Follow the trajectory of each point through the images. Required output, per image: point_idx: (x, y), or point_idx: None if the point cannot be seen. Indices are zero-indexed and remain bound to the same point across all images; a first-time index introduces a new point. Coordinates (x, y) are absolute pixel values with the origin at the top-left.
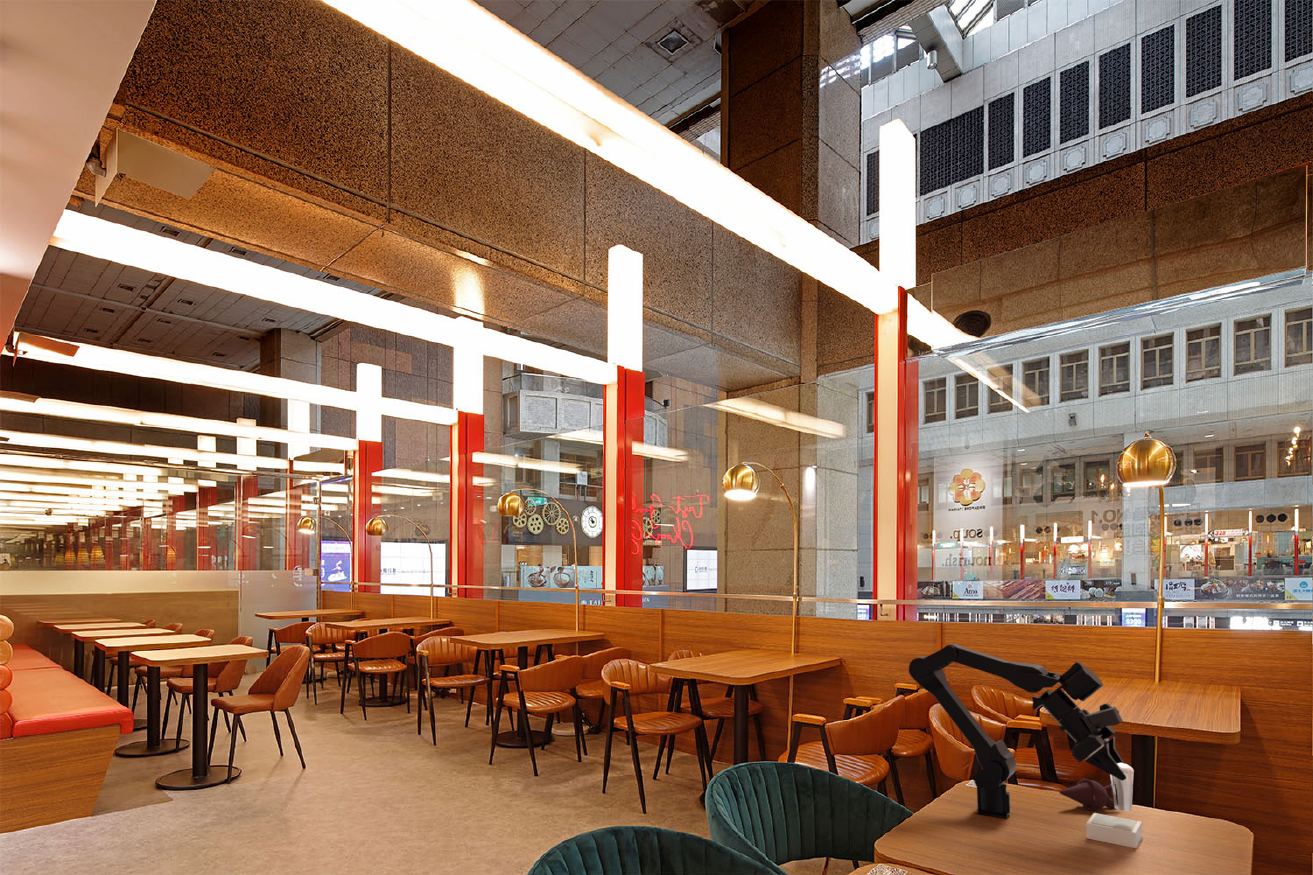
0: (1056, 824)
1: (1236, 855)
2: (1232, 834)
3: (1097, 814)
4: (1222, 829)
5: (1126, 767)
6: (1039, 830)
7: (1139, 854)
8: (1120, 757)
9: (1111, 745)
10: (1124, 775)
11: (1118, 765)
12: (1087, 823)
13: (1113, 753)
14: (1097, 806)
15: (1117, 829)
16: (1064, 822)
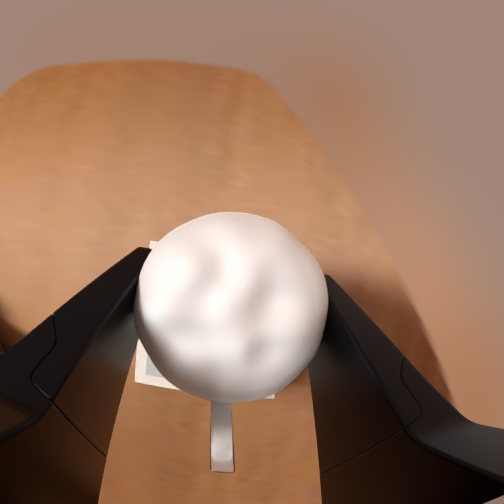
0: (185, 452)
1: (199, 68)
2: (54, 76)
3: (154, 373)
4: (29, 93)
5: (303, 264)
6: (266, 474)
7: (326, 259)
8: (64, 314)
9: (25, 450)
10: (336, 284)
11: (297, 334)
12: (273, 395)
13: (73, 395)
14: (3, 349)
15: None
16: (152, 436)
